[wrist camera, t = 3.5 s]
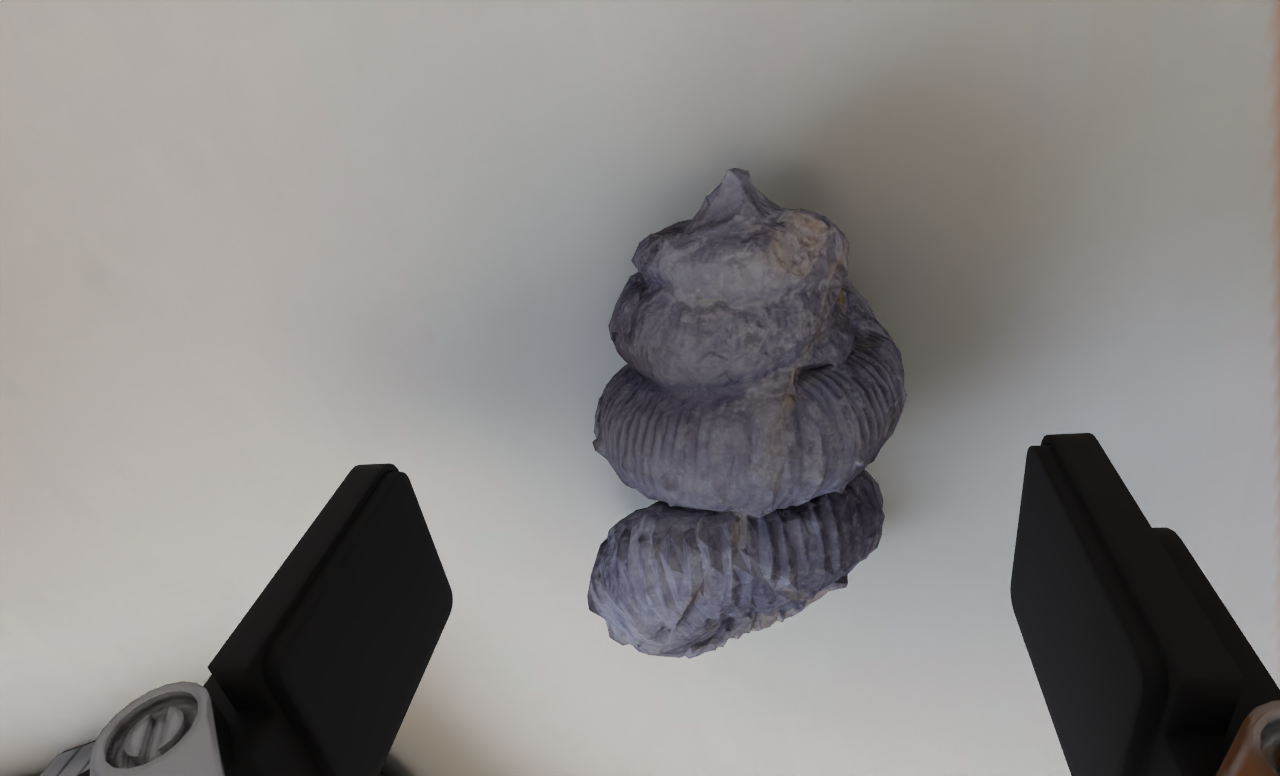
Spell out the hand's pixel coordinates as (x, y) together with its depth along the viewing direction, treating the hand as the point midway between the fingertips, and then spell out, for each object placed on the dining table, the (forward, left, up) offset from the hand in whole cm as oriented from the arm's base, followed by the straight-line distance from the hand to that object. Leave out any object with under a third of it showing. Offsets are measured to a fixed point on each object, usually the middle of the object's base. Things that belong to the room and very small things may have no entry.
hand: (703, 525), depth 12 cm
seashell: (0, 0, -5) cm, 5 cm away
